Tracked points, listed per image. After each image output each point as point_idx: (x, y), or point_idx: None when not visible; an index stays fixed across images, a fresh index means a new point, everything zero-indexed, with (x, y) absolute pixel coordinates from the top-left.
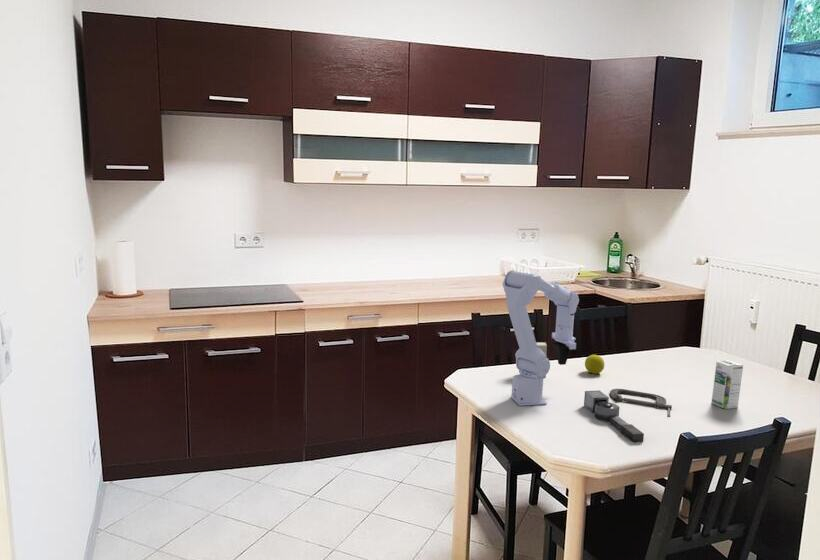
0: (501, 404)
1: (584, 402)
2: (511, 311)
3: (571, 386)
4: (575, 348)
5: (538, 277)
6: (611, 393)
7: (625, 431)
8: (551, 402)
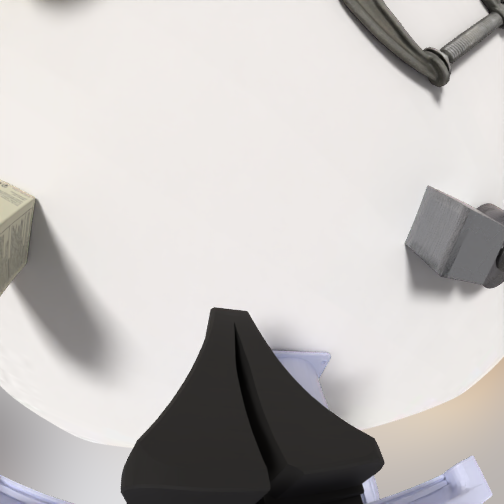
0: None
1: (415, 251)
2: None
3: (182, 130)
4: (473, 462)
5: None
6: (394, 45)
7: None
8: (321, 330)
